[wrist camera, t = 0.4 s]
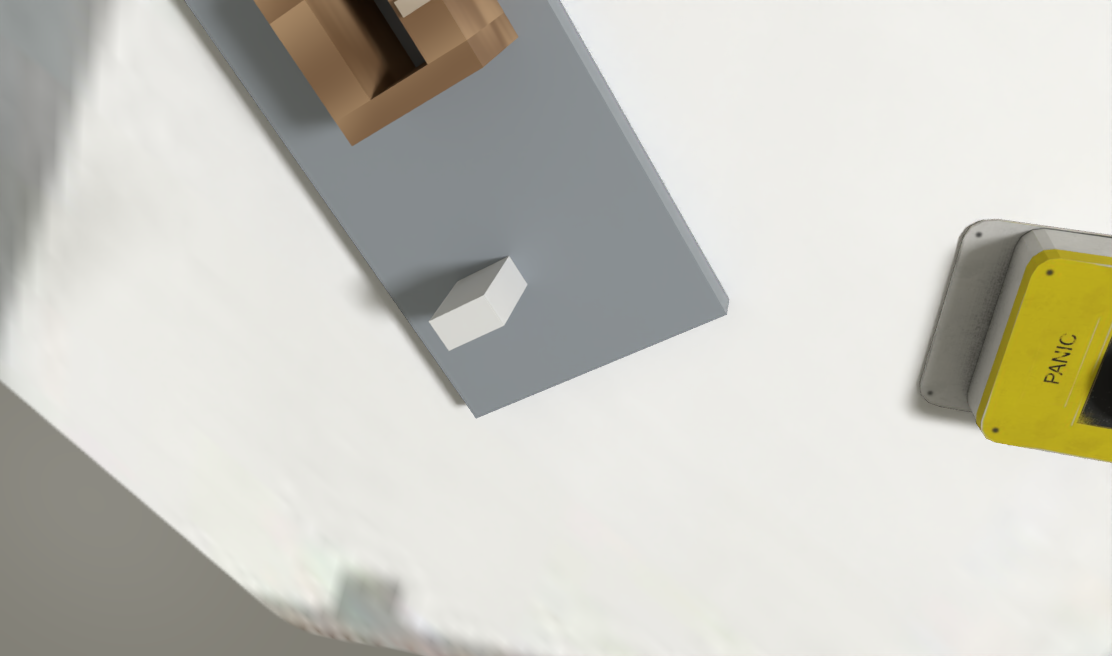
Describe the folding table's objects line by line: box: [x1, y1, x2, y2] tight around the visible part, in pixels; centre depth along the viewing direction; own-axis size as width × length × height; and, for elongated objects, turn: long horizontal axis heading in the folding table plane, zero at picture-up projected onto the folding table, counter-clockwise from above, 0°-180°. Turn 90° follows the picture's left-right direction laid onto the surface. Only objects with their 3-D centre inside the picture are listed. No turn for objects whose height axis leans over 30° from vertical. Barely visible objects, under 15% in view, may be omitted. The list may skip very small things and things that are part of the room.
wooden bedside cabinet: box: [254, 0, 518, 146], centre depth 38 cm, size 6×6×5 cm
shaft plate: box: [184, 0, 729, 418], centre depth 42 cm, size 24×14×6 cm, turn 32°
